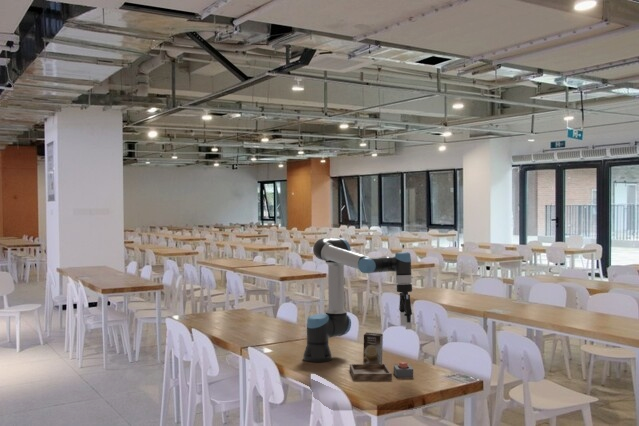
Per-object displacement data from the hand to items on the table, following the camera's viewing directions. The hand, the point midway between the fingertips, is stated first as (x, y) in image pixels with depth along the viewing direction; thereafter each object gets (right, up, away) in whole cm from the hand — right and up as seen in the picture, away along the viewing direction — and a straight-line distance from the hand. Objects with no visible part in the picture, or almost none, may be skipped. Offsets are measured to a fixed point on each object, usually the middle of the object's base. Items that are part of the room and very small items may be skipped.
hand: (406, 327), depth 288 cm
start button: (-2, -20, -3) cm, 20 cm away
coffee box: (-15, -23, +16) cm, 32 cm away
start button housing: (-2, -23, -3) cm, 23 cm away
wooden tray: (-18, -23, -3) cm, 29 cm away
